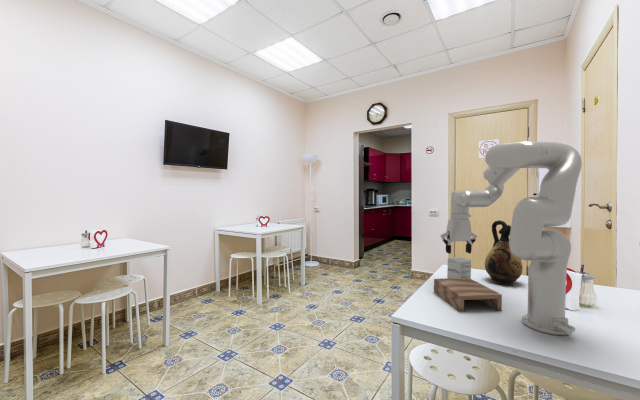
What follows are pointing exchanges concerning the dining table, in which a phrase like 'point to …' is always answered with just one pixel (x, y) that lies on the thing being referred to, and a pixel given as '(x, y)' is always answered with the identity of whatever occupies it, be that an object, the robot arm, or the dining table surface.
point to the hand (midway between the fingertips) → (458, 252)
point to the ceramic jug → (502, 258)
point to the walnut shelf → (466, 292)
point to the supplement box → (459, 268)
